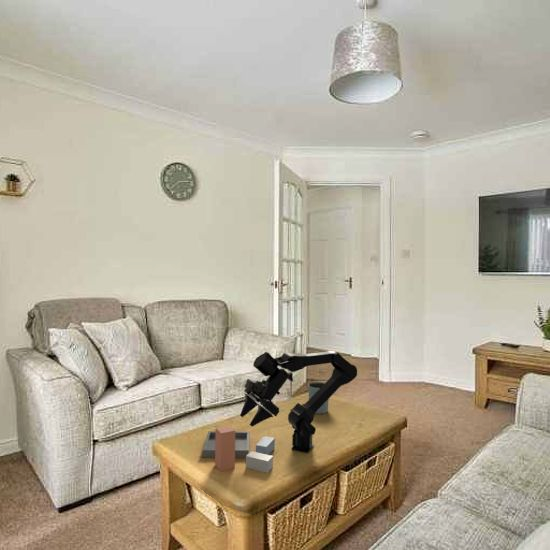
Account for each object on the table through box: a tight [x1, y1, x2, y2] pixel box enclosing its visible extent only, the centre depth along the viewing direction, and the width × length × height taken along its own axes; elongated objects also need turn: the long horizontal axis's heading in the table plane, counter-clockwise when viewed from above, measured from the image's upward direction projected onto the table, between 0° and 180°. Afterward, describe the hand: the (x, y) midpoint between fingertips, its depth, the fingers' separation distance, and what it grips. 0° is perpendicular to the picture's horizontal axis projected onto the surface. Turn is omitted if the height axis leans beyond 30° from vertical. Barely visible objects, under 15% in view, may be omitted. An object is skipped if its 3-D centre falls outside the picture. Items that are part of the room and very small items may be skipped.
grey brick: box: [245, 450, 274, 474], centre depth 133 cm, size 8×4×4 cm, turn 66°
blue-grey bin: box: [307, 381, 330, 414], centre depth 188 cm, size 10×10×12 cm
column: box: [214, 424, 236, 472], centre depth 133 cm, size 5×5×12 cm
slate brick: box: [255, 435, 276, 455], centre depth 145 cm, size 8×4×4 cm, turn 159°
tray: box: [201, 430, 251, 459], centre depth 148 cm, size 16×16×3 cm
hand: (245, 420), depth 138 cm, fingers open, 9 cm apart
